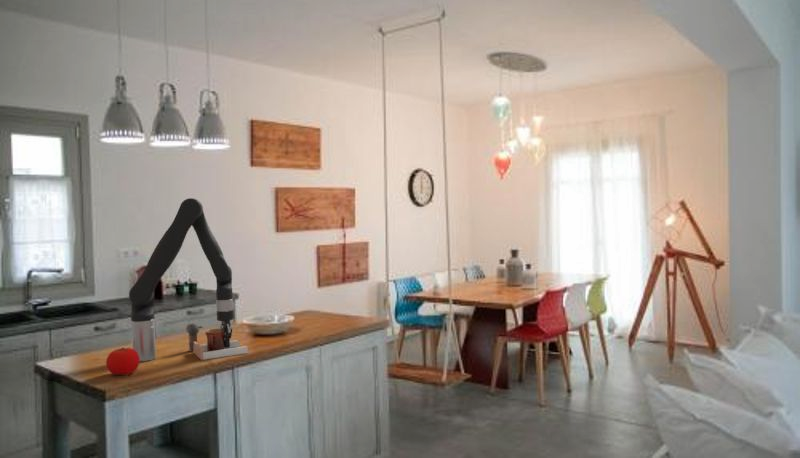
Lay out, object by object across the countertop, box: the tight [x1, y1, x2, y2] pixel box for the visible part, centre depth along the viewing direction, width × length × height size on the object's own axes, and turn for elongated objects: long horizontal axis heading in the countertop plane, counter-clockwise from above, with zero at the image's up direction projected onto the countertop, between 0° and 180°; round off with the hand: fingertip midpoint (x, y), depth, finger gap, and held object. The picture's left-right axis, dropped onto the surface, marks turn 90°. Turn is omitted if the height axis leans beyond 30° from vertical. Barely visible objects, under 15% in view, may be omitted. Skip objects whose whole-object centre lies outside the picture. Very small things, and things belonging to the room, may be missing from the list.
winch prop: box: [185, 322, 203, 353], centre depth 271 cm, size 7×4×12 cm, turn 120°
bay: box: [193, 339, 249, 361], centre depth 265 cm, size 20×16×5 cm
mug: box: [204, 328, 225, 352], centre depth 263 cm, size 12×9×10 cm
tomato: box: [105, 347, 141, 376], centre depth 234 cm, size 11×12×10 cm
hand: (227, 347), depth 267 cm, fingers closed
